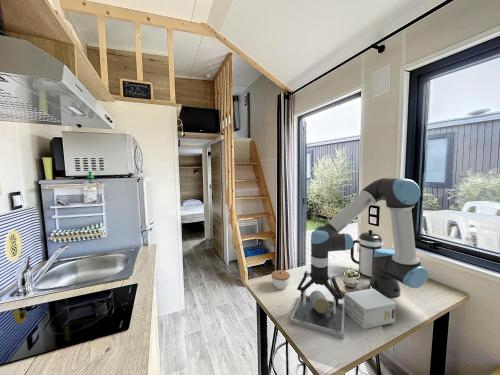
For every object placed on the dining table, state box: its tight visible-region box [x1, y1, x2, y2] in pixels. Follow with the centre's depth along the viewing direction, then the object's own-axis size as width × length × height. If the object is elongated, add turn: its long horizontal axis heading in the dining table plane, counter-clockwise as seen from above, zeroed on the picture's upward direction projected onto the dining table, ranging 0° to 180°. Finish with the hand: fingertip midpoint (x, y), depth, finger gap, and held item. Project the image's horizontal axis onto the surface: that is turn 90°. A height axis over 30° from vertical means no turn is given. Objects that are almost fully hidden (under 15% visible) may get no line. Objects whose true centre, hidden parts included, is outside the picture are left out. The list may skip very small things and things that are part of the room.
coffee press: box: [350, 229, 384, 278], centre depth 139 cm, size 17×16×30 cm
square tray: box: [289, 293, 346, 340], centre depth 101 cm, size 22×22×2 cm
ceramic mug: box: [309, 290, 334, 313], centre depth 104 cm, size 11×8×8 cm
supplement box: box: [343, 288, 397, 330], centre depth 100 cm, size 17×13×9 cm
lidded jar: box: [271, 269, 291, 290], centre depth 127 cm, size 11×11×9 cm
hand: (319, 308), depth 101 cm, fingers open, 13 cm apart
